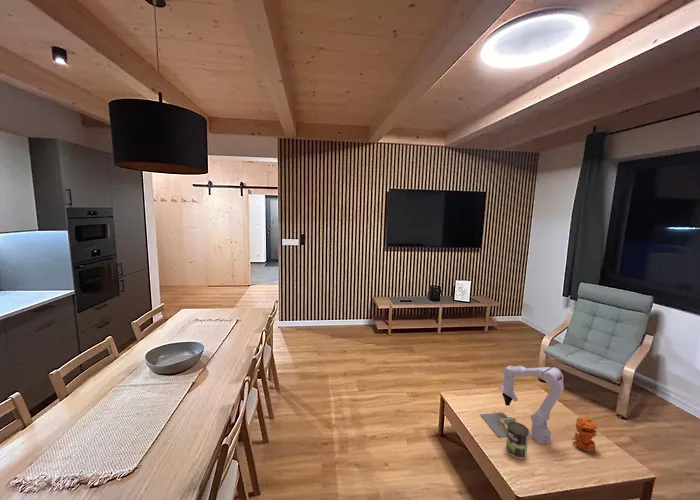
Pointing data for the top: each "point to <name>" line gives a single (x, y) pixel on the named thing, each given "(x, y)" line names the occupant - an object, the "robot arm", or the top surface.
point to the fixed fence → (503, 424)
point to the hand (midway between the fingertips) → (507, 405)
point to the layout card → (495, 423)
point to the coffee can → (517, 440)
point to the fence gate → (509, 420)
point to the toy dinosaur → (585, 433)
